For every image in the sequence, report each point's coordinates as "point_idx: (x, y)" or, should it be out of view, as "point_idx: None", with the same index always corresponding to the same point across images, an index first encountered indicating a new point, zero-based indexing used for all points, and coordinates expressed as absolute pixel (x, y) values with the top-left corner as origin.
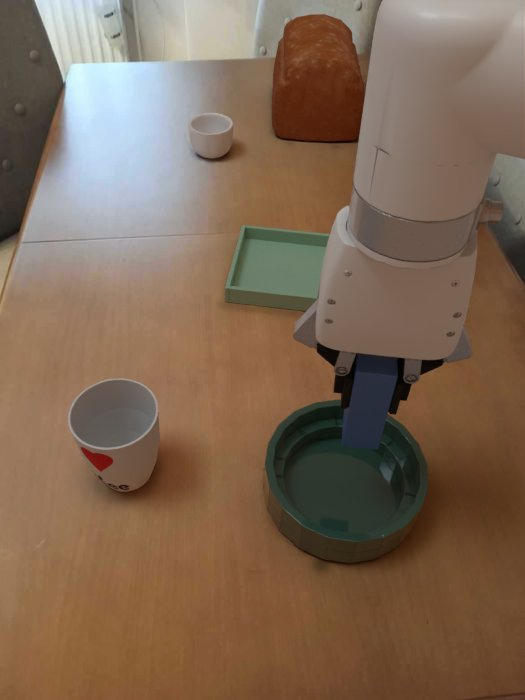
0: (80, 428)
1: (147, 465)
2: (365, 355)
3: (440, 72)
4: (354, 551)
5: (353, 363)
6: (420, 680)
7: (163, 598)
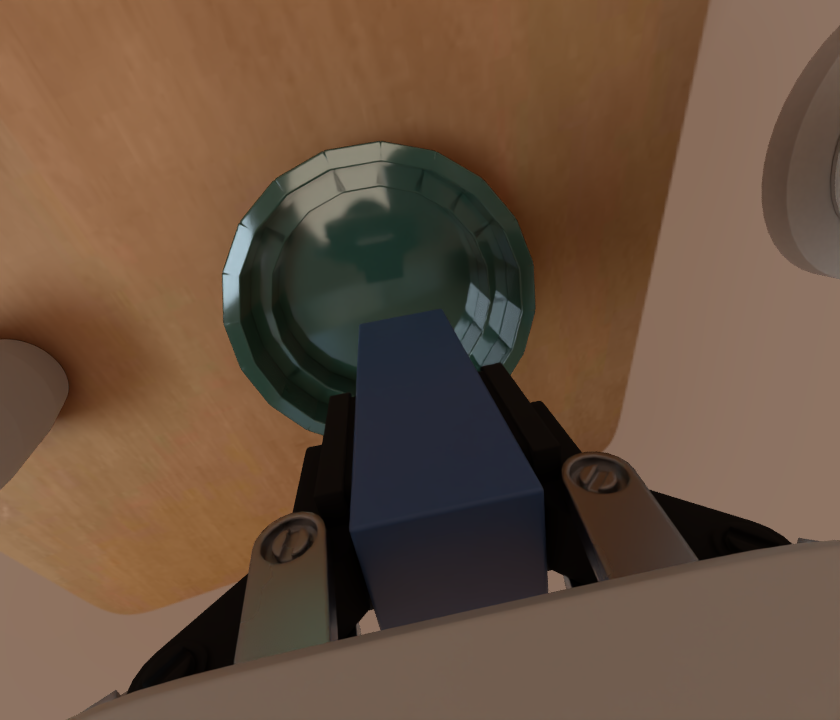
0: None
1: (36, 436)
2: (406, 580)
3: None
4: None
5: (364, 596)
6: None
7: (212, 506)
